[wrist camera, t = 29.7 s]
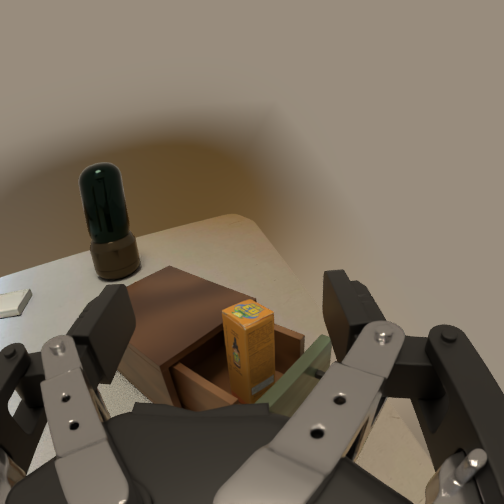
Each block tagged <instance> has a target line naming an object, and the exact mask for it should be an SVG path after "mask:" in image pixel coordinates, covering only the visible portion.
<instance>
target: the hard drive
mask: <svg viewBox="0 0 504 504" xmlns="http://www.w3.org/2000/svg"><path fill="white" fill-rule="evenodd" d="M31 296H32V292H31V290H30V289H27V290H21V291H16V292H11V293H5V294H0V318H3V317H9V316H16V315H20V314H21V313H22V311H23V310H24V308H25V306H26V305H27V303H28V301H29V299H30V298H31Z"/></svg>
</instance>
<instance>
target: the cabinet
mask: <svg viewBox="0 0 504 504" xmlns="http://www.w3.org/2000/svg"><path fill="white" fill-rule="evenodd" d="M126 288H127V290H128V294H129V297H130V300H131V304H132V307H133V310H134V314H135V318H136V328H135V331H134V333H133V335H132V337H131V339H130V342H129V344H128V346H127V348H126V350H125V353H124V355H123V357H122V359H121V362H120V364H119V366H118V368H117V370H118V371H119V372H120V373H121V374H122V375H123V376H124V377H125V378H126V379H127V380H128V381H129V382H130V383H132V384H133V385H134V386H135V387H136V388H137V389H138V390H139V391H140V392H141V393H143V394H144V395H145V396H146V397H147V398H148V399H149V400H150V401H152V402H153V403H154V404H167V405H171V406H175V407H179V408H183V407H181V404H180V401H179V398H178V395H177V392H176V390H175V387H174V384H173V381H172V378H171V375H170V372H169V369H168V368H169V367H170V366H172V365H173V364H175V363H176V362H178V361H179V360H180V359H182V358H183V357H185V356H186V355H188V354H189V353H191V352H192V351H193V350H195V349H196V348H198V347H199V346H200V345H202V344H203V343H205V342H206V341H208V340H209V339H210V338H212V337H213V336H215V335H216V334H217V333H219V332H220V331H222V330H223V329H224V327H223V318H222V310H224V309H226V308H228V307H230V306H233V305H235V304H237V303H240V302H242V301H245V300H248V299H251V300H253V301H255V302H256V298H253V297H250V296H248V295H245V294H242V293H240V292H237V291H234V290H232V289H229V288H226V287H224V286H221V285H218V284H216V283H213V282H210V281H208V280H205V279H203V278H200V277H197V276H195V275H192V274H190V273H187V272H184V271H182V270H179V269H177V268H174V267H172V266H168V267H166V268H164V269H162V270H160V271H157V272H155V273H153V274H151V275H149V276H147V277H145V278H143V279H141V280H139V281H137V282H135V283H133V284H131V285H129V286H127V287H126ZM183 409H184V408H183Z"/></svg>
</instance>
